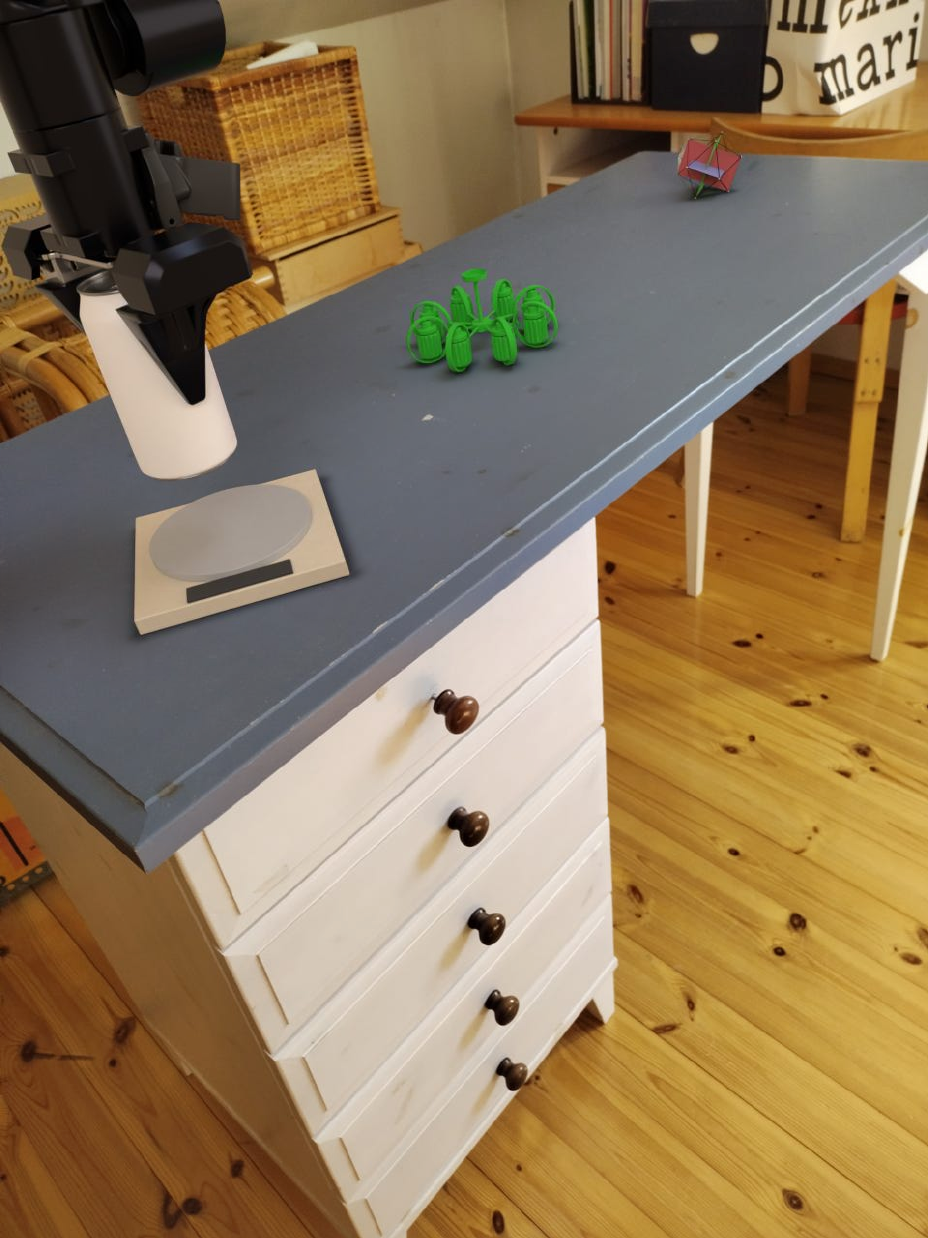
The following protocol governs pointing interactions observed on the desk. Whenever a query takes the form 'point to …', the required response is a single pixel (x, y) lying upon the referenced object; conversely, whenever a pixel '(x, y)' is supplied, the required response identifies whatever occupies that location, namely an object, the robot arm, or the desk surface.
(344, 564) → the scale
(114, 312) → the can
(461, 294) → the chandelier
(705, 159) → the geometric puzzle
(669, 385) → the desk surface
